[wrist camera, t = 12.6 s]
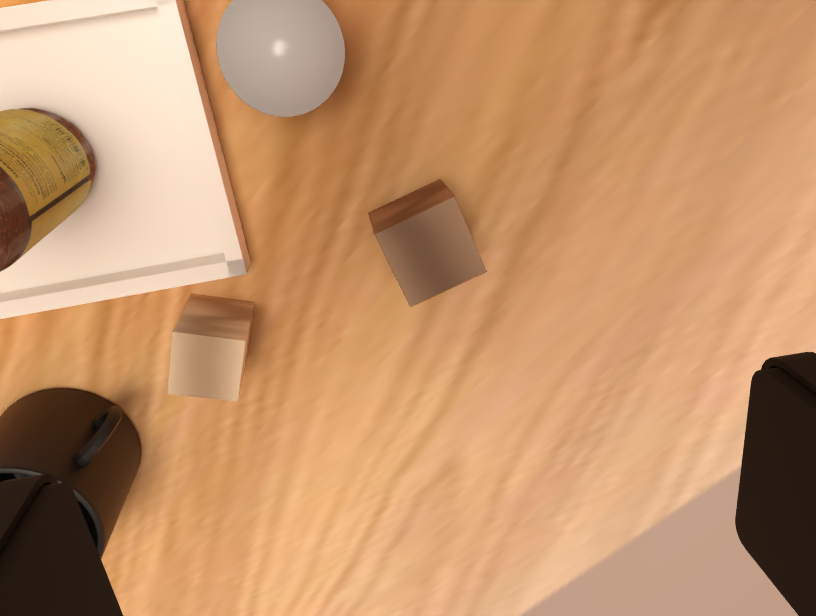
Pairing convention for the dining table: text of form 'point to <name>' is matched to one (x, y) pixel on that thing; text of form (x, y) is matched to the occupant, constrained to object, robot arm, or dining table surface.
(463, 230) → the walnut cube
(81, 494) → the mug
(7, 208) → the sauce bottle
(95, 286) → the tray
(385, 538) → the dining table surface
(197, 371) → the beech block
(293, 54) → the white rounded block
